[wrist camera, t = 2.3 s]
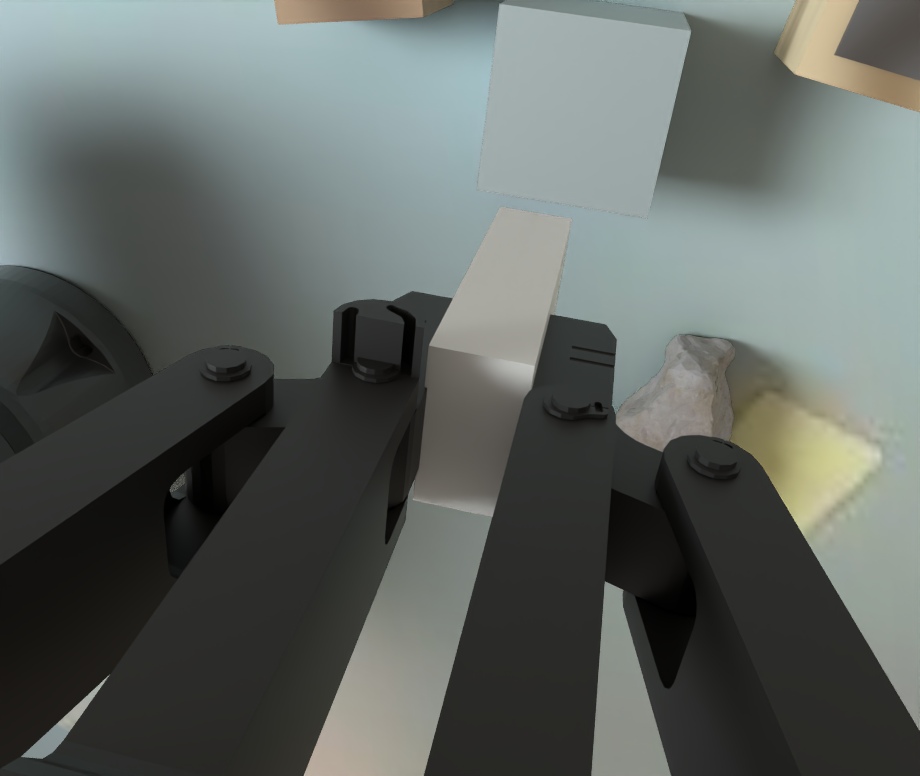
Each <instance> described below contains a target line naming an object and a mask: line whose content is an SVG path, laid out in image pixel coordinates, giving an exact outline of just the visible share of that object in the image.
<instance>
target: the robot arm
mask: <svg viewBox="0 0 920 776" xmlns="http://www.w3.org/2000/svg"><path fill="white" fill-rule="evenodd" d="M571 223H572V219H570V218H564V217H558V216H552V215H546V214H541V213H535V212H529V211H523V210H517V209H511V208H505V207H500V208H499V210H498V212H497V214H496V216H495V218H494V220H493V222H492V224H491V226H490V228H489V230H488V232H487V233H486V235H485V237H484V239H483V241H482V243H481V245H480V247H479V249H478V251H477V253H476V255H475V257H474V259H473V261H472V263H471V264H470V266H469V268H468V270H467V272H466V274H465V276H464V278H463V280H462V282H461V284H460V286H459V288H458V290H457V292H456V294H455V296H454V297H453V299H452V298H447V297H441V296H436V295H430V294H425V293H419V292H414V291H412V292H410V293H408V294H406V295H404V296H402V297H400V298H398V299H395V300H394V301H385V300H375V299H371V300H357V301H353V302H350V303H346V304H343V305H341V306H340V307H339V308H337V309H336V310H334V317H333V344H332V362H331V364H330V365H329V367H328V368H327V369H326V371H325V372H324V374H323V375H322V376H321V378H316V379H300V380H299V379H274V364H273V363H272V362H271V361H270V359H269V358H268V357H267V356H265V355H263V354H261V353H259V352H257V351H255V350H251V349H247V348H242V347H240V346H231V347H229V346H218V347H214V348H208V349H203V350H200V351H198V352H195V353H193V354H190V355H188V356H186V357H185V358H183V359H181V360H179V361H178V362H176V363H174V364H172V365H171V366H169V367H167V368H165V369H164V370H162V371H160V372H158V373H157V374H155V375H153V376H152V375H151V373H150V370H149V368H148V365H147V363H146V361H145V359H144V357H143V355H142V353H141V352H140V350H139V348H138V347H137V345H136V344H135V342H134V341H133V339H132V338H131V336H130V335H129V334H128V332H127V331H126V330H125V329H124V327H123V326H122V325H121V324H120V323H119V322H118V321H117V320H116V319H115V318H114V316H113V315H112V314H110V313H109V312H108V311H107V310H106V309H105V308H104V307H103V306H102V305H100V304H99V303H98V302H97V301H96V300H94V299H93V298H92V297H90V296H89V295H87V294H86V293H84V292H83V291H81V290H80V289H78V288H77V287H75V286H73V285H71V284H69V283H68V282H66V281H64V280H62V279H59V278H57V277H55V276H52V275H50V274H47V273H44V272H41V271H37V270H34V269H29V268H24V267H17V266H0V776H304V773H305V771H306V768H307V766H308V763H309V761H310V758H311V756H312V753H313V751H314V748H315V746H316V743H317V740H318V738H319V735H320V733H321V730H322V728H323V725H324V723H325V720H326V718H327V715H328V713H329V710H330V708H331V705H332V703H333V700H334V698H335V695H336V693H337V690H338V688H339V685H340V683H341V680H342V678H343V675H344V673H345V670H346V668H347V665H348V663H349V660H350V658H351V655H352V653H353V650H354V648H355V645H356V643H357V640H358V638H359V635H360V633H361V630H362V628H363V625H364V623H365V620H366V618H367V615H368V613H369V610H370V608H371V605H372V603H373V600H374V598H375V595H376V593H377V590H378V588H379V585H380V583H381V580H382V578H383V575H384V573H385V570H386V568H387V565H388V563H389V560H390V558H391V555H392V553H393V550H394V548H395V545H396V543H397V540H398V538H399V535H400V533H401V530H402V528H403V525H404V523H405V519H406V509H407V499H408V493H409V490H410V488H411V486H412V483H413V481H414V479H415V484H414V493H413V500H414V501H418V502H423V503H428V504H433V505H437V506H442V507H447V508H451V509H456V510H461V511H465V512H470V513H475V514H479V515H484V516H489V517H492V521H491V525H490V528H489V532H488V536H487V540H486V543H485V547H484V551H483V555H482V558H481V562H480V566H479V570H478V574H477V577H476V581H475V585H474V589H473V592H472V596H471V600H470V604H469V608H468V611H467V615H466V619H465V623H464V626H463V630H462V634H461V638H460V641H459V645H458V649H457V653H456V657H455V660H454V664H453V668H452V672H451V675H450V679H449V683H448V687H447V690H446V694H445V698H444V702H443V706H442V709H441V713H440V717H439V721H438V724H437V728H436V732H435V736H434V739H433V743H432V747H431V751H430V755H429V758H428V762H427V766H426V770H425V773H424V776H591V770H592V756H593V742H594V727H595V713H596V699H597V684H598V670H599V656H600V641H601V627H602V613H603V598H604V584H605V581H606V582H608V583H610V584H612V585H614V586H616V587H619V588H621V589H623V590H624V591H623V608H624V611H625V615H626V618H627V622H628V625H629V629H630V632H631V636H632V639H633V643H634V646H635V650H636V653H637V657H638V660H639V664H640V667H641V671H642V674H643V678H644V681H645V685H646V688H647V692H648V695H649V699H650V703H651V706H652V710H653V713H654V717H655V720H656V724H657V727H658V731H659V734H660V738H661V741H662V745H663V748H664V752H665V755H666V759H667V762H668V766H669V769H670V773H671V776H920V731H919V729H918V728H917V726H916V724H915V723H914V721H913V719H912V717H911V716H910V714H909V712H908V711H907V709H906V707H905V706H904V704H903V702H902V701H901V699H900V697H899V696H898V694H897V692H896V691H895V689H894V687H893V686H892V684H891V682H890V681H889V679H888V677H887V675H886V674H885V672H884V670H883V669H882V667H881V665H880V664H879V662H878V660H877V659H876V657H875V655H874V654H873V652H872V650H871V649H870V647H869V645H868V644H867V642H866V640H865V639H864V637H863V635H862V633H861V632H860V630H859V628H858V627H857V625H856V623H855V622H854V620H853V618H852V617H851V615H850V613H849V612H848V610H847V608H846V607H845V605H844V603H843V602H842V600H841V598H840V597H839V595H838V593H837V591H836V590H835V588H834V586H833V585H832V583H831V581H830V580H829V578H828V576H827V575H826V573H825V571H824V570H823V568H822V566H821V565H820V563H819V561H818V560H817V558H816V556H815V555H814V553H813V551H812V549H811V548H810V546H809V544H808V543H807V541H806V539H805V538H804V536H803V534H802V533H801V531H800V529H799V528H798V526H797V524H796V523H795V521H794V519H793V518H792V516H791V514H790V513H789V511H788V509H787V507H786V506H785V504H784V502H783V501H782V499H781V497H780V496H779V494H778V492H777V491H776V489H775V487H774V486H773V484H772V482H771V481H770V479H769V477H768V476H767V474H766V472H765V471H764V469H763V467H762V466H761V465H760V463H759V462H758V461H757V460H756V459H755V458H754V457H753V456H752V455H751V454H750V453H748V452H746V451H745V450H743V449H742V448H740V447H739V446H737V445H735V444H734V443H731V442H729V441H727V440H726V441H724V439H721V438H717V437H709V436H703V435H686V436H680V437H678V438H675V439H673V440H670V441H669V443H668V444H667V445H666V447H665V448H664V450H663V452H661V451H659V450H656V449H654V448H651V447H649V446H647V445H645V444H643V443H640V442H638V441H636V440H635V439H633V438H632V437H630V436H629V435H627V434H626V433H624V432H623V431H622V430H621V429H620V428H619V427H618V426H617V424H616V415H615V411H614V408H613V406H612V395H613V382H614V366H615V354H616V341H617V339H616V338H615V336H614V335H613V334H612V332H611V331H610V330H609V328H608V327H607V325H605V324H600V323H594V322H589V321H583V320H578V319H573V318H567V317H562V316H556V315H554V314H555V309H556V304H557V298H558V293H559V287H560V282H561V277H562V271H563V266H564V260H565V255H566V250H567V244H568V239H569V233H570V228H571ZM183 473H184V476H185V484H184V485H183V486H181V487H180V488H179V489H177V490H176V491H174V492H172V493H170V487H171V485H172V484H173V483H174V482H175V481H176V480H177V479H178V478H179V476H180V475H181V474H183ZM109 675H110V676H109ZM107 676H109V677H108V678H107V680H106V681H105V683H104V684H103V685H102V687H101V688H100V690H99V691H98V692H97V694H96V695H95V697H94V698H93V700H92V701H91V702H90V704H89V705H88V707H87V708H86V709H85V711H84V712H83V714H82V715H81V716H80V718H79V719H78V721H77V722H76V724H75V725H74V726H73V728H72V729H71V731H70V732H69V733H68V735H67V736H66V738H65V739H64V741H63V742H62V743H61V744H60V745H59V746H58V747H57V749H56V750H55V751H54V752H53V753H52V754H50V755H48V756H46V757H45V758H43V759H37V758H25V757H21V756H22V755H23V754H24V753H25V752H26V751H27V750H29V749H30V748H31V747H32V746H33V745H34V744H35V743H36V742H37V741H38V740H39V739H40V738H41V737H43V736H44V735H45V734H46V733H47V732H48V731H49V730H50V729H51V728H52V727H53V726H54V725H56V724H57V723H58V722H59V721H60V720H61V719H62V718H63V717H64V716H65V715H66V714H67V713H69V712H70V711H71V710H72V709H73V708H74V707H75V706H76V705H77V704H78V703H79V702H80V701H82V700H83V699H84V698H85V697H86V696H87V695H88V694H89V693H90V692H91V691H92V690H93V689H95V688H96V687H97V686H98V685H99V684H100V683H101V682H102V681H103V680H104V679H105V678H106V677H107Z"/></svg>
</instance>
